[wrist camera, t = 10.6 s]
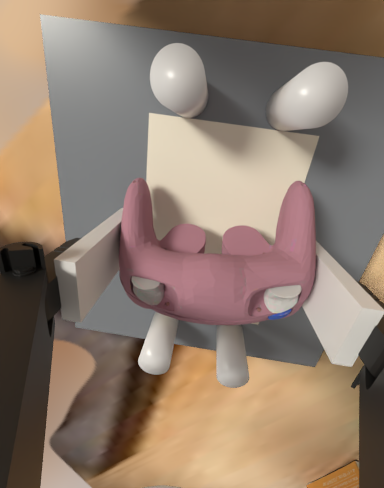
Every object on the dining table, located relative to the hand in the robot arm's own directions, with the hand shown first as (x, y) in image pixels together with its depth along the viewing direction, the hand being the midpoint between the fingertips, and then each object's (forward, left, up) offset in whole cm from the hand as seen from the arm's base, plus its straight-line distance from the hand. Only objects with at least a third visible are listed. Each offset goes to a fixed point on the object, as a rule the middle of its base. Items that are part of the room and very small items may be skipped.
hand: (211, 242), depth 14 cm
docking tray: (0, 0, -2) cm, 2 cm away
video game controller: (0, +1, 0) cm, 1 cm away
